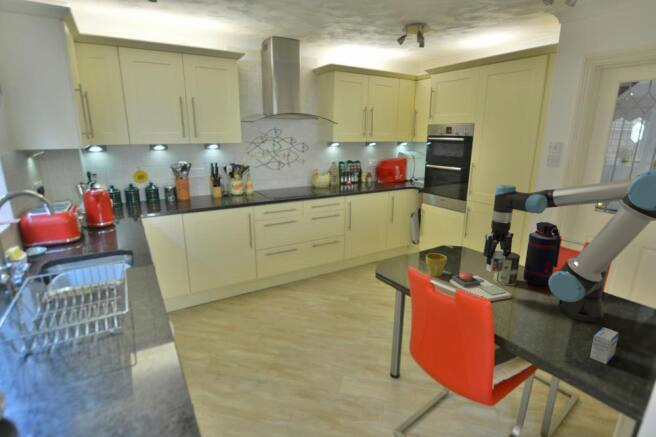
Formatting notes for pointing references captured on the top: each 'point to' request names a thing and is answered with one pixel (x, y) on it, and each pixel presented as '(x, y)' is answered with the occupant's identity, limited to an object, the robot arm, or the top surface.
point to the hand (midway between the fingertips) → (495, 270)
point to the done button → (466, 277)
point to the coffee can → (508, 270)
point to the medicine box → (604, 345)
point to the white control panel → (481, 288)
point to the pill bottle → (498, 260)
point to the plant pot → (435, 264)
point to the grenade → (542, 254)
